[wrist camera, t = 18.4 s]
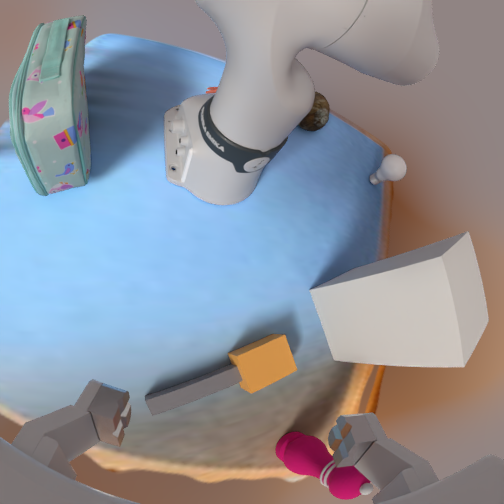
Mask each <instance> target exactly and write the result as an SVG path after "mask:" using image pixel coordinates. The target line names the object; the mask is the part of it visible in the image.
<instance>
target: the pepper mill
mask: <svg viewBox="0 0 504 504" xmlns="http://www.w3.org/2000/svg"><path fill="white" fill-rule="evenodd" d="M276 455H277V457H278V458H279V459H280V460H282V461H283V462H284V464H285V466H286V467H287V468H288V469H289V470H290V471H292V472H294V473H297V474H300V475H310V476H314V477H317V478H319V479H320V482H321V484H323V485H324V486H325V487H327V488H329V490H330V492H331V494H333V495H334V496H335V497H337V498H340V499H353V498H355V497H357V496H359V495H361V494H363V495H367V494H369V493H371V491H372V490H373V485H372V484H370V482H371V481H370V480H368V479H367V478H366V477H365V476H364V475H363V474H362V473H361V472H360V471H359V470H358V469H356V468H355V467H354V466H355V465H354V466H346V467H336V465H335V462H334V459H333V456H331V454H330V453H329V452H328V450H327V448H326V446H325V444H324V443H323V442H322V441H321V440H319V439H318V438H316V437H314V436H306V435H304V434H303V433H301V432H290V433H288V434H286V435H284V436H283V437H282V438H281V439H280V440H279V442H278V443H277V446H276Z"/></svg>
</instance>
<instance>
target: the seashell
mask: <svg viewBox="0 0 504 504" xmlns="http://www.w3.org/2000/svg"><path fill="white" fill-rule="evenodd" d="M328 118H329V104H328V102H327V100H326V99H325V97H324V96H323V95H321V94H320V93H318V92H315V98H314V103H313V106H312V109H311V110H310V112H309V113H308V114H307V115H306V116H305V117H304V118H303V120H302V121H301V122H300V123H299V124H298V125H299V126H300V127H301V128H303V129H305V130H307V131H316V130H319V129H321V128H322V127H323V126H324V125H325V124H326V123H327V121H328Z"/></svg>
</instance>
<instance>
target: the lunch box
mask: <svg viewBox="0 0 504 504" xmlns="http://www.w3.org/2000/svg"><path fill="white" fill-rule="evenodd" d="M86 21H87V20H86V17H85V16H84V15H82V16H75V17H70V18H65V19H60V20H55V21H53V22H48V23H46V24H44V23H41V24H39V25H38V26H37V27H36V29H35V31H34V32H33V35H32V37H31V40H30V43H29V46H28V49H27V52H26V54H25V56H24V59H23V61H22V63H21V65H20V67H19V69H18V72H17V74H16V76H15V78H14V81H13V83H12V86H11V89H10V94H9V115H10V117H9V118H10V136H11V140H12V143H13V146H14V148H15V152H16V154H17V156H18V158H19V160H20V162H21V164H22V166H23V168H24V170H25V172H26V174H27V176H28V178H29V180H30V182H31V184H32V186H33V188H34V190H35V191H36V192H37V193H38V194H39V195H42V196H47V195H49V194H52V193H56V192H60V191H64V190H67V189H70V188H74V187H79V186H85V185H86V184H87V183H88V178H89V174H90V167H91V148H90V137H89V120H88V104H87V96H86V86H85V75H84V66H83V65H84V57H85V39H86Z"/></svg>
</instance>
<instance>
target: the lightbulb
mask: <svg viewBox="0 0 504 504" xmlns="http://www.w3.org/2000/svg"><path fill="white" fill-rule="evenodd" d="M406 171H407V169H406V163H405V161H404V160H403V159H402V158H401V157H400V156H398V155H396V154H390V155H387V156H386V157H384V159H383V160H382V162H381V165H380V168H379V169H378V170H377V172H375V173H374V174H372V175H370V181H371V183H372V184H374V185H377V184H378V183H380V182H382V181H387V180H390V181H399V180H401V179H402V178H403V177H404V176H405V174H406Z"/></svg>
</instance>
